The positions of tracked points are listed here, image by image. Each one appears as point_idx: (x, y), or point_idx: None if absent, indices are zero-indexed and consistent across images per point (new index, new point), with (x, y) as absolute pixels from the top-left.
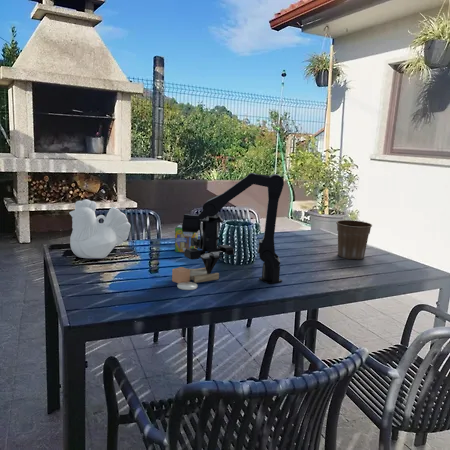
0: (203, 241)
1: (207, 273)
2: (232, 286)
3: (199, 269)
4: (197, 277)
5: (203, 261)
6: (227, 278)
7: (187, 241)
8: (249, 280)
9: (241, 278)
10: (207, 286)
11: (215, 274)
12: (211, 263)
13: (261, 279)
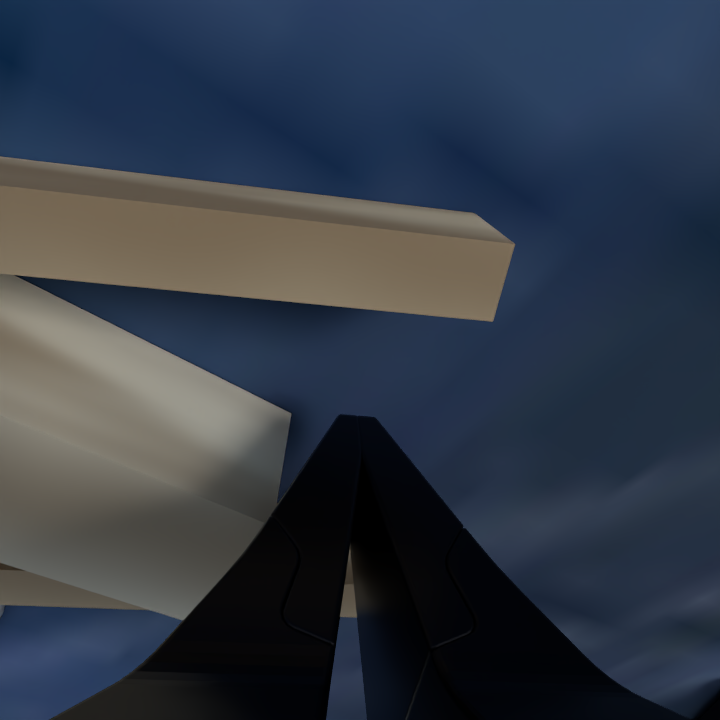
0: None
1: (337, 422)
2: (363, 703)
3: (103, 490)
4: (5, 590)
5: (191, 633)
6: (515, 557)
7: None
8: (637, 665)
9: (639, 609)
10: (127, 638)
11: (342, 610)
12: (376, 701)
13: (716, 714)
